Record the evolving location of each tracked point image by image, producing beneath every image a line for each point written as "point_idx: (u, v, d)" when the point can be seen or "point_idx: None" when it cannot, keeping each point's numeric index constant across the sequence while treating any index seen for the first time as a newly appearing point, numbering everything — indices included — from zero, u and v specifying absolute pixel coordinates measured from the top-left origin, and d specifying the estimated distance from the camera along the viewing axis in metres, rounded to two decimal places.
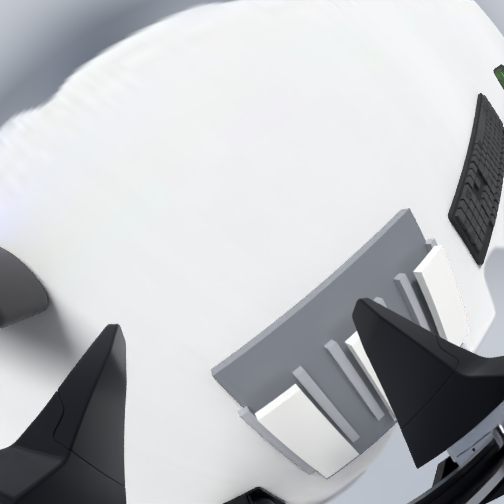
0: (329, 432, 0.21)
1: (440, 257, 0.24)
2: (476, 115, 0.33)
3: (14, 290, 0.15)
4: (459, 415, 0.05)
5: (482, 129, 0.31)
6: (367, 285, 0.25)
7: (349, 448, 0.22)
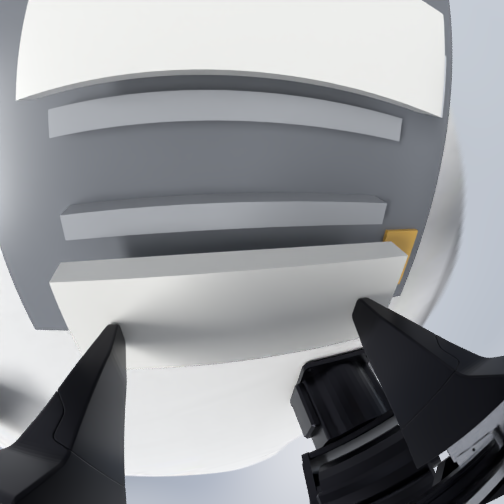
0: (249, 287, 0.09)
1: None
2: None
3: None
4: (459, 415, 0.05)
5: None
6: None
7: (365, 266, 0.10)
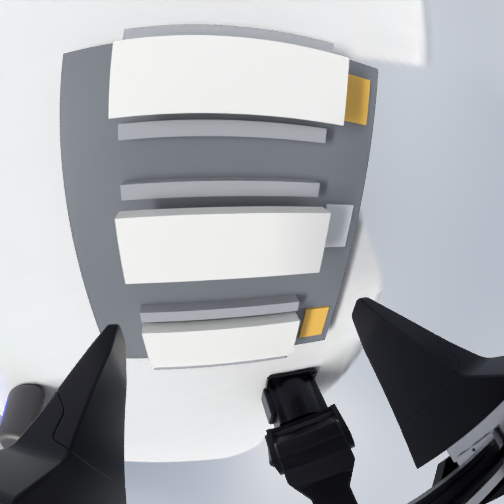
0: (223, 335, 0.22)
1: (125, 56, 0.10)
2: None
3: (22, 413, 0.20)
4: (459, 415, 0.05)
5: None
6: (100, 186, 0.16)
7: (275, 326, 0.22)
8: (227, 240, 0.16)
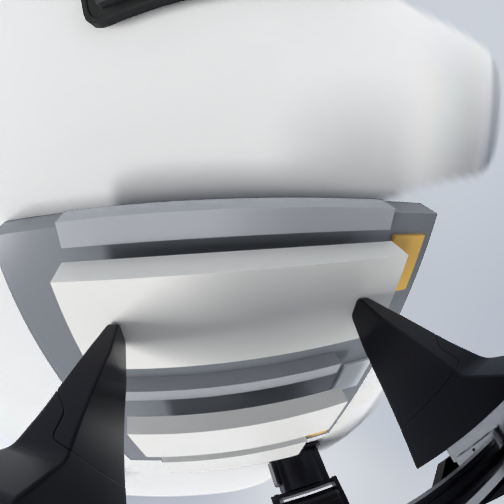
0: (236, 458, 0.19)
1: (78, 306, 0.08)
2: None
3: None
4: (459, 415, 0.05)
5: None
6: None
7: (283, 448, 0.20)
8: (242, 436, 0.14)
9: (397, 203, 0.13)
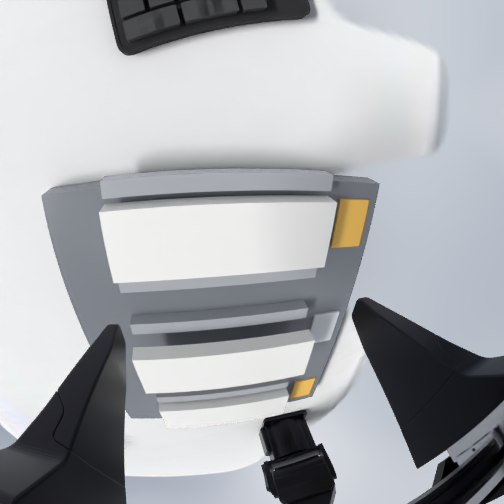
0: (225, 409, 0.24)
1: (115, 229, 0.13)
2: None
3: None
4: (459, 415, 0.05)
5: None
6: (110, 318, 0.18)
7: (268, 401, 0.25)
8: (227, 368, 0.19)
9: (345, 176, 0.18)
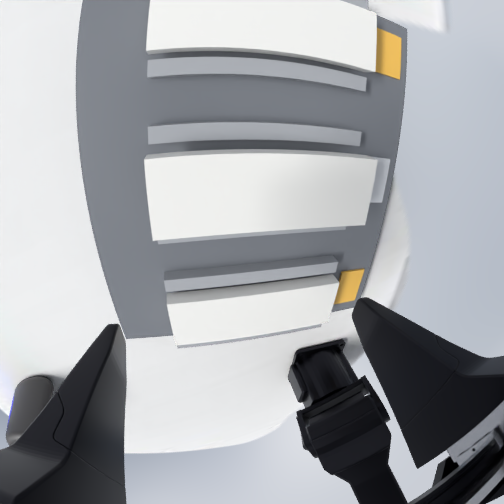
0: (259, 301, 0.20)
1: None
2: None
3: (30, 409, 0.19)
4: (459, 415, 0.05)
5: None
6: (121, 132, 0.13)
7: (314, 289, 0.21)
8: (275, 184, 0.14)
9: None
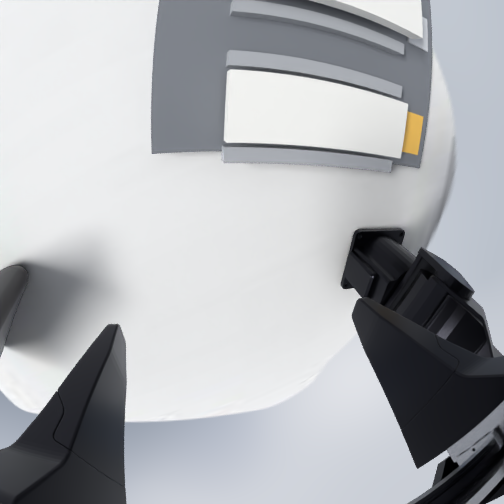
0: (334, 92, 0.15)
1: None
2: None
3: None
4: (459, 415, 0.05)
5: None
6: None
7: (386, 100, 0.15)
8: None
9: None
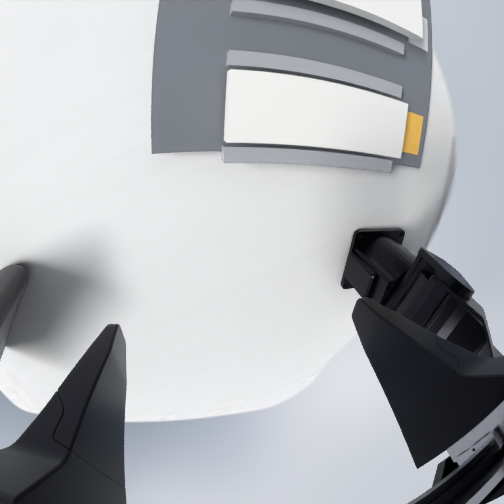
0: (334, 92, 0.15)
1: None
2: None
3: None
4: (459, 415, 0.05)
5: None
6: None
7: (386, 100, 0.15)
8: None
9: None
